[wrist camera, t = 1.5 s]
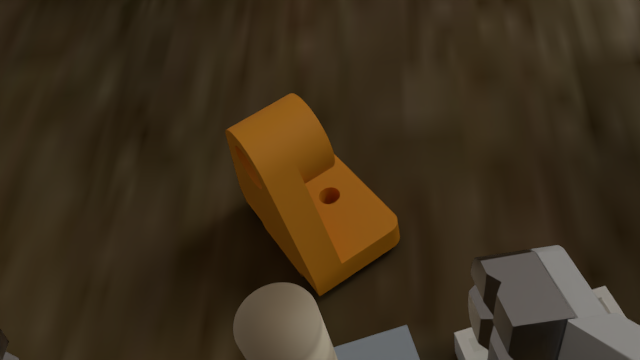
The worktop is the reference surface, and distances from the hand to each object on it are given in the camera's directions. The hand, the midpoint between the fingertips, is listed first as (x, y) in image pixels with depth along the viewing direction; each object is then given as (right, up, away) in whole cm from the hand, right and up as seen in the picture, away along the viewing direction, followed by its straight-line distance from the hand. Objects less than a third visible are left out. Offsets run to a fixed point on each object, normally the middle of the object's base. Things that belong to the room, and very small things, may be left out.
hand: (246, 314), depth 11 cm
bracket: (+2, -1, +35) cm, 35 cm away
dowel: (+2, -12, +24) cm, 27 cm away
